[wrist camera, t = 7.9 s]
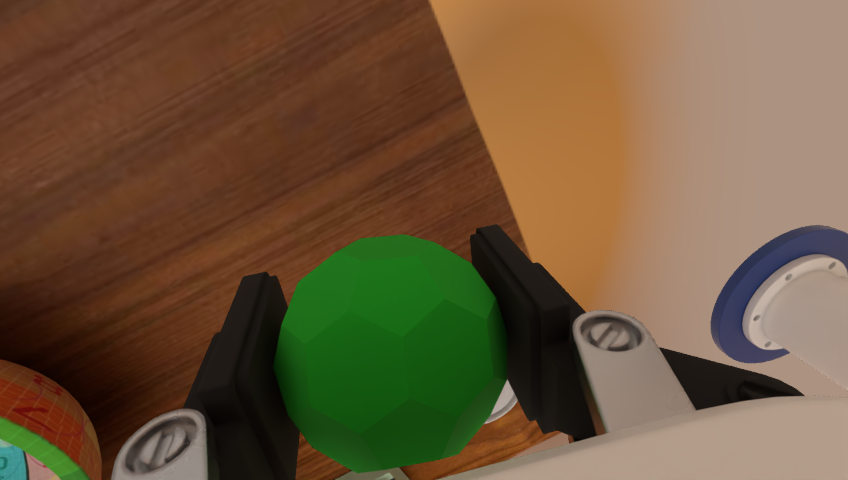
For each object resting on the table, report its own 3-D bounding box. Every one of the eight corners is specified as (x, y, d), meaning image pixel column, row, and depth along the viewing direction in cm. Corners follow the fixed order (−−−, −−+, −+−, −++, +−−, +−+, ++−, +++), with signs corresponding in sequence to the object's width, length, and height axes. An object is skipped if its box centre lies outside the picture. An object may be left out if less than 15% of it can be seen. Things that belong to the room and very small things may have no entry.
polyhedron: (487, 323, 12) (565, 465, 8) (337, 384, 12) (338, 560, 8) (438, 176, 10) (511, 268, 6) (253, 248, 10) (192, 396, 6)
